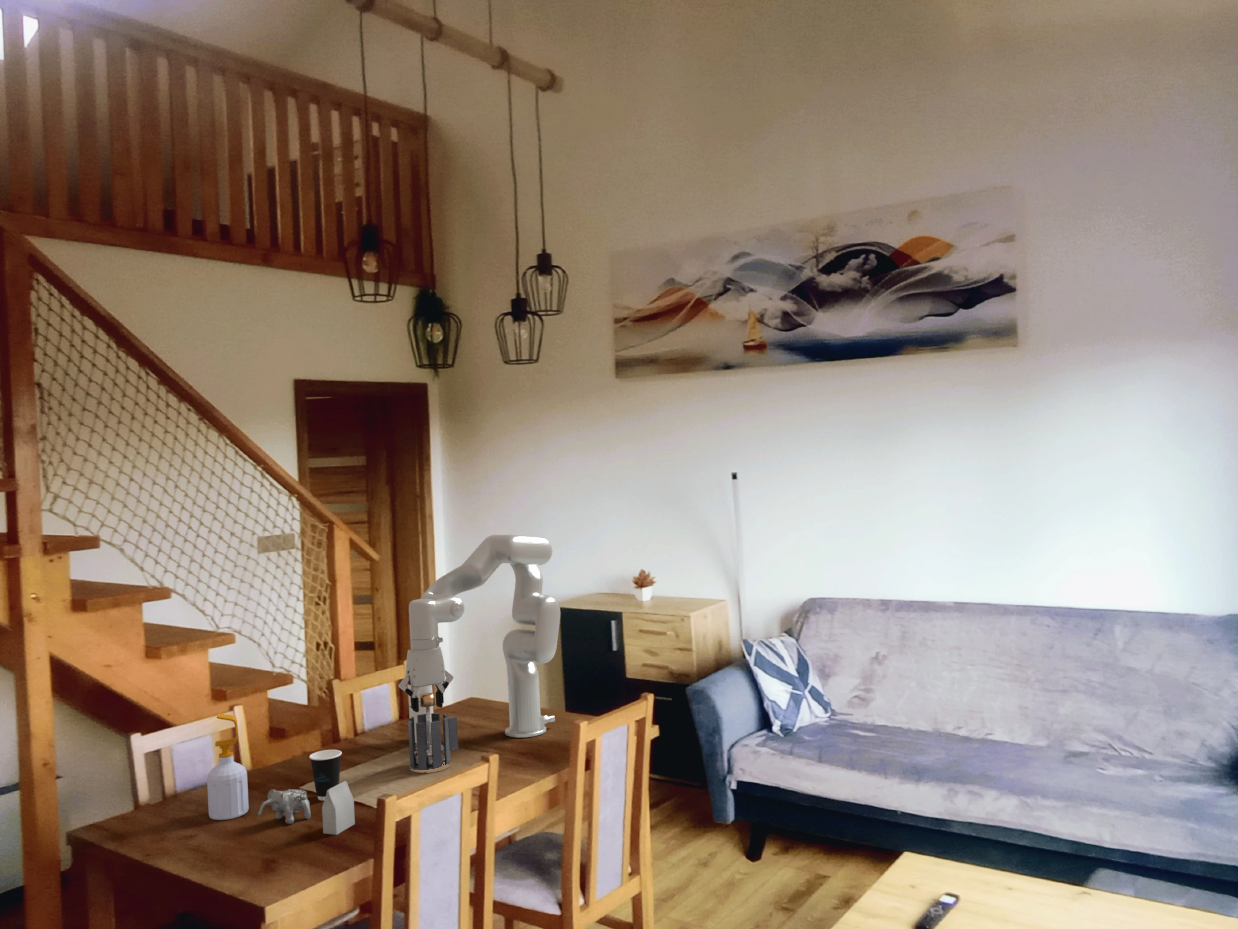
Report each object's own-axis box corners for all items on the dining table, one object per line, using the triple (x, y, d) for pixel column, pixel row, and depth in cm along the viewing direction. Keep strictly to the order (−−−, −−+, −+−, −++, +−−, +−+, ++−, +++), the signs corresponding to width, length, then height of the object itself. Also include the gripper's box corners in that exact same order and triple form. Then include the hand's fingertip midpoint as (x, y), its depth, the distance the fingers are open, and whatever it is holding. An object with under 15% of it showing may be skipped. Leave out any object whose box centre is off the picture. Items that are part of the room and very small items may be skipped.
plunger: (438, 745, 274) (435, 689, 274) (449, 752, 267) (447, 694, 267) (409, 751, 269) (407, 694, 269) (420, 758, 262) (417, 699, 262)
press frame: (450, 756, 277) (447, 709, 277) (465, 765, 268) (463, 716, 268) (404, 766, 270) (401, 717, 270) (418, 776, 260) (416, 726, 260)
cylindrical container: (431, 743, 291) (427, 660, 291) (408, 744, 292) (404, 661, 292) (436, 736, 298) (432, 655, 298) (413, 737, 299) (409, 656, 299)
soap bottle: (209, 811, 240) (204, 712, 240) (248, 805, 244) (244, 707, 244) (208, 823, 232) (203, 721, 232) (248, 816, 235) (243, 715, 235)
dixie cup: (339, 789, 252) (337, 747, 252) (347, 798, 245) (345, 754, 245) (308, 796, 248) (306, 753, 248) (315, 805, 241) (312, 760, 241)
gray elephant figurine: (318, 816, 234) (317, 784, 234) (281, 832, 223) (281, 798, 223) (288, 813, 238) (288, 781, 238) (251, 828, 227) (251, 795, 227)
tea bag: (354, 824, 227) (352, 781, 227) (336, 834, 221) (334, 791, 221) (341, 822, 228) (339, 780, 228) (323, 833, 222) (321, 789, 222)
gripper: (448, 638, 276) (451, 701, 276) (389, 646, 266) (392, 712, 266) (459, 641, 269) (462, 706, 269) (398, 650, 260) (402, 717, 260)
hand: (427, 708), depth 268 cm, fingers open, 6 cm apart
